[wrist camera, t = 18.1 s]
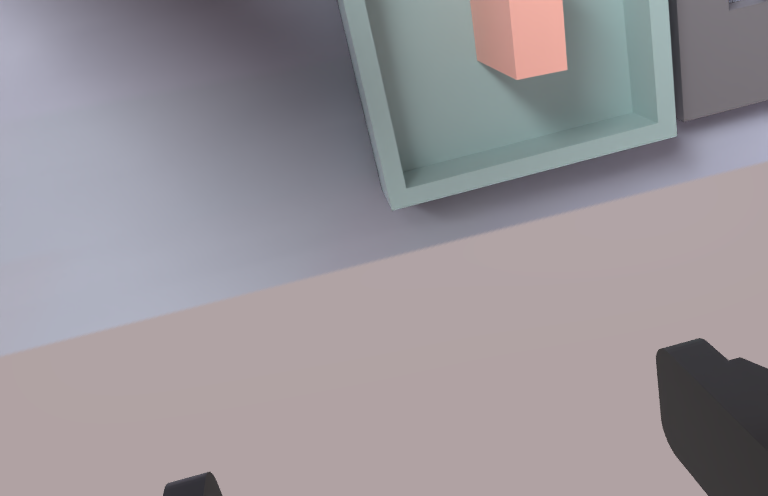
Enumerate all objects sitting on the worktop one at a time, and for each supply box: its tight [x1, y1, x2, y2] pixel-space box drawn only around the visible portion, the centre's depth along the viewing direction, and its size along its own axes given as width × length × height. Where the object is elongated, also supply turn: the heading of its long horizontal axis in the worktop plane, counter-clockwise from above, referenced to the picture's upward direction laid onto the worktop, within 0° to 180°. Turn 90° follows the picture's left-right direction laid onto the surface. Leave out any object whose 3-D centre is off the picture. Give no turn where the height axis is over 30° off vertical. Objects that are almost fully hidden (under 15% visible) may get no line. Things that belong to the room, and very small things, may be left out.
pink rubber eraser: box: [470, 0, 568, 80], centre depth 35 cm, size 6×2×7 cm, turn 10°
